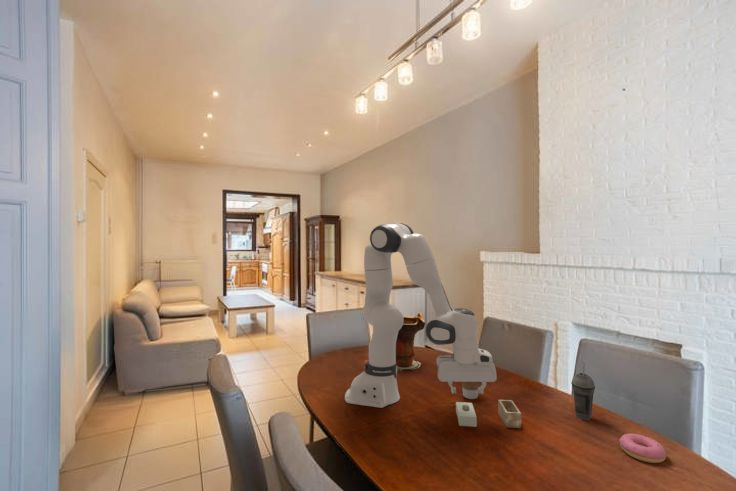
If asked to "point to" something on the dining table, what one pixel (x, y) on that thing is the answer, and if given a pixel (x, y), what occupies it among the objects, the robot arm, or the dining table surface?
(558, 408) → the dining table surface
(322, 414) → the dining table surface
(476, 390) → the coffee cup
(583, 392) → the beverage cup
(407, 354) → the decorative vase
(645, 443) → the doughnut
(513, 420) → the box base
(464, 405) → the lid
